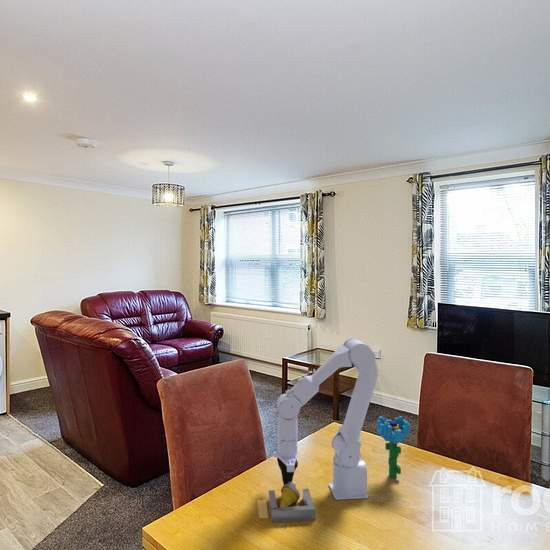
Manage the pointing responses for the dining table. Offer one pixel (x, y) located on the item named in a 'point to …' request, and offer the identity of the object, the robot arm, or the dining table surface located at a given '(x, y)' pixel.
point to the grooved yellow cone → (289, 494)
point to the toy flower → (393, 440)
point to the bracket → (292, 509)
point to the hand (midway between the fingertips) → (287, 484)
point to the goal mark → (262, 509)
